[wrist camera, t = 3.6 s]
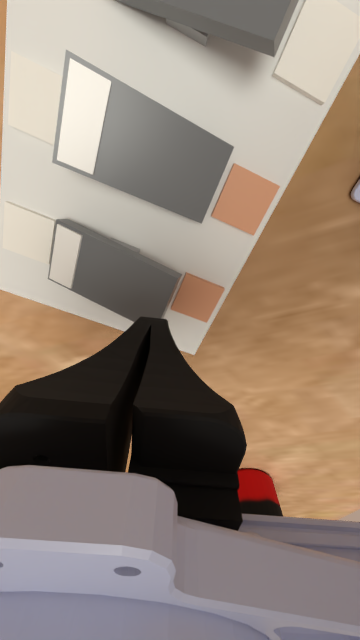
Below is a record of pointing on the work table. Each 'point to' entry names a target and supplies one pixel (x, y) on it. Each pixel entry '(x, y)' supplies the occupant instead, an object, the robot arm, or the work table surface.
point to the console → (187, 101)
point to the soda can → (257, 493)
